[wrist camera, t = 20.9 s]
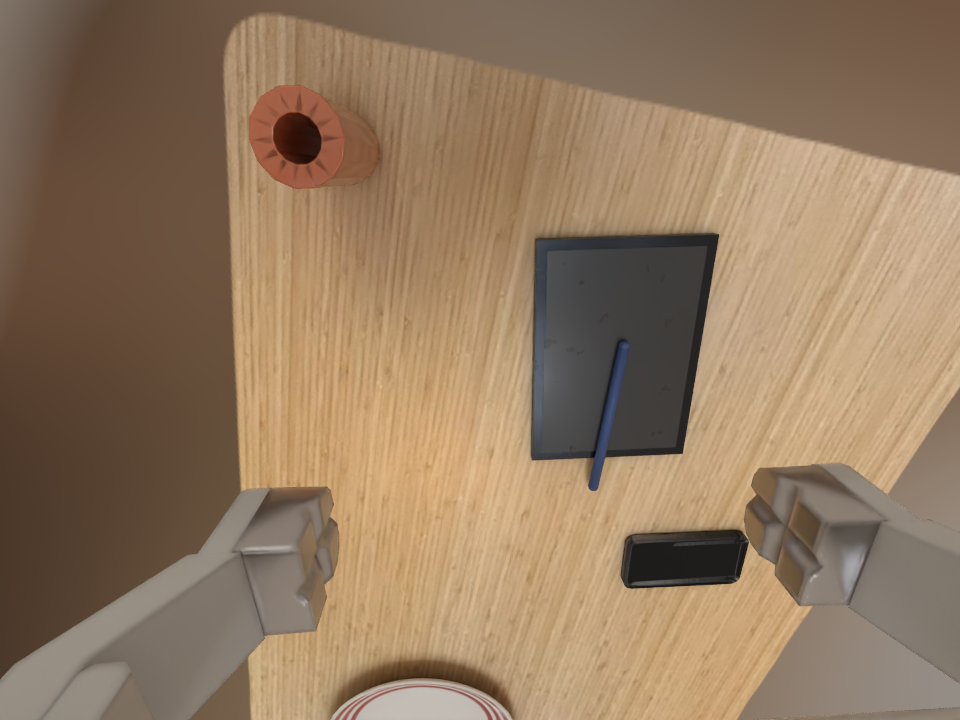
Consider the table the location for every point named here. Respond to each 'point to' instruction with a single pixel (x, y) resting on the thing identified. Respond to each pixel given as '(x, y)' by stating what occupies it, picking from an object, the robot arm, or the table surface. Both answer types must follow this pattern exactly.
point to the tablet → (617, 340)
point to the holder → (311, 139)
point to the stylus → (609, 414)
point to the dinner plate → (422, 702)
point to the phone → (683, 559)
